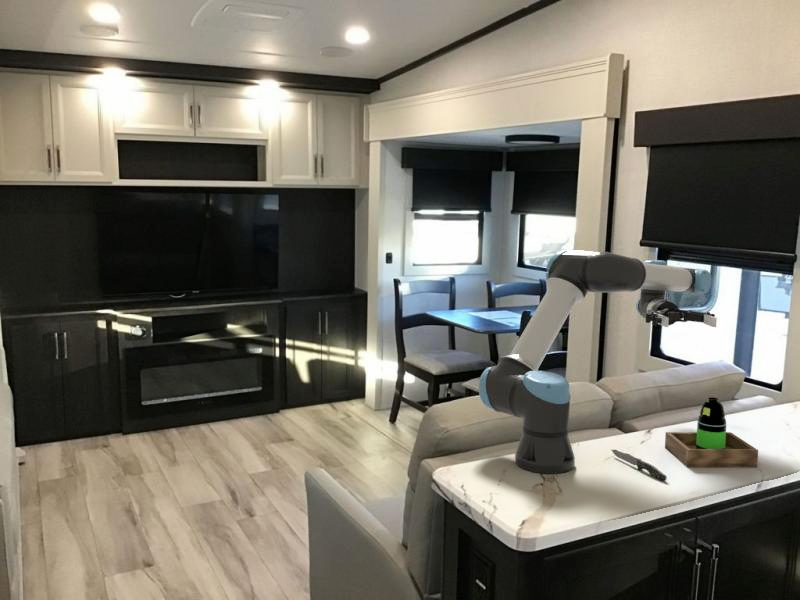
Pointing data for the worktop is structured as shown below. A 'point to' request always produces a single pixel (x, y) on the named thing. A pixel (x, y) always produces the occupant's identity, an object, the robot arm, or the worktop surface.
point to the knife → (641, 465)
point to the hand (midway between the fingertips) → (691, 322)
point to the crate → (711, 451)
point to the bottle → (711, 425)
